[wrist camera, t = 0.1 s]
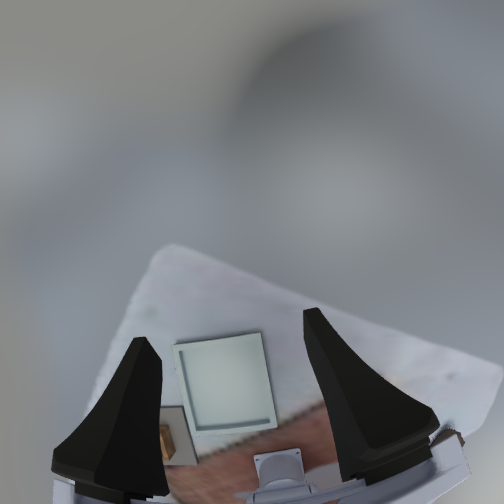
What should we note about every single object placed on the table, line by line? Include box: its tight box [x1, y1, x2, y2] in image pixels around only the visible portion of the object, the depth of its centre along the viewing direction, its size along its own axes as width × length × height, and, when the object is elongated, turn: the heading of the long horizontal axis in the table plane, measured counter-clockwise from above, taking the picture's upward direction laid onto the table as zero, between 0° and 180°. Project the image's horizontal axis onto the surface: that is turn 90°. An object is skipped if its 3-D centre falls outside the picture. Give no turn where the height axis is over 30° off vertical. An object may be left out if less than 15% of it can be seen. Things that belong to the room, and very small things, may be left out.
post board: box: [160, 406, 199, 465], centre depth 36 cm, size 12×12×6 cm
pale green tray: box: [171, 332, 278, 436], centre depth 40 cm, size 16×14×2 cm
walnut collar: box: [160, 425, 176, 461], centre depth 36 cm, size 6×8×4 cm
